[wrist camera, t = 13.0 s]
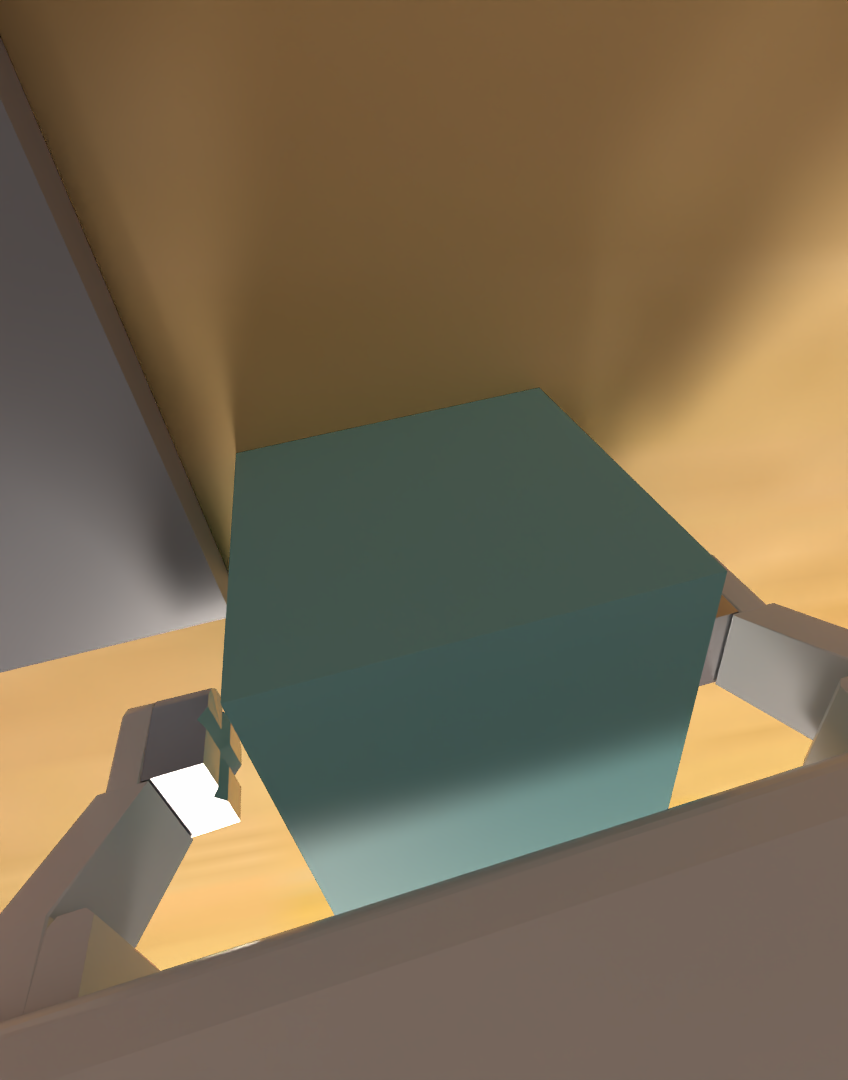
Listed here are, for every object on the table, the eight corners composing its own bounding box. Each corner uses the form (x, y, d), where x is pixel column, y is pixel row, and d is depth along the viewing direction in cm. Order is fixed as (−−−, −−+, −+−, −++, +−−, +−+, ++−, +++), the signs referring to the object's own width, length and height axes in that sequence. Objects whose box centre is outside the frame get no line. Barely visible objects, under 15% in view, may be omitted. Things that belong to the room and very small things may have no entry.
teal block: (537, 385, 12) (727, 571, 7) (539, 603, 15) (665, 821, 11) (236, 451, 11) (220, 703, 6) (312, 661, 15) (338, 922, 10)
